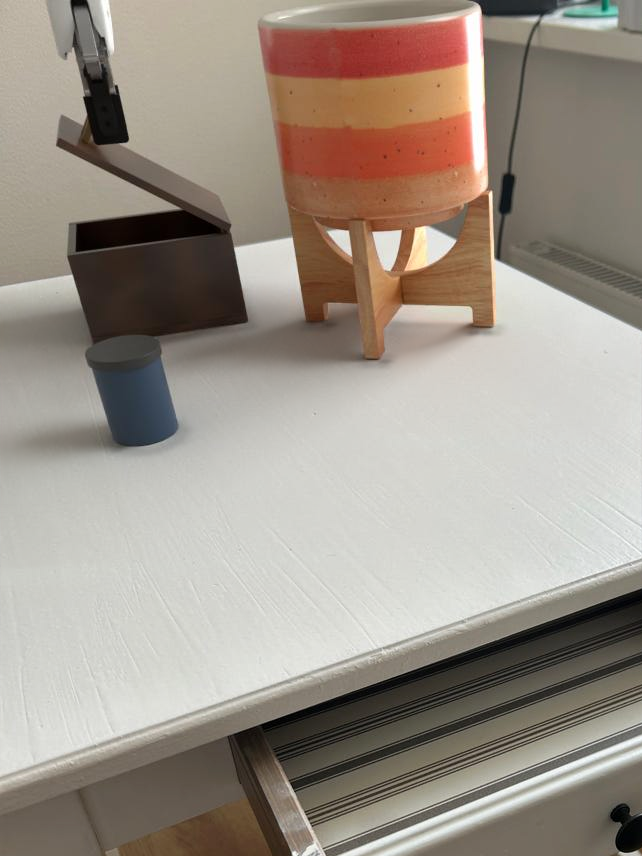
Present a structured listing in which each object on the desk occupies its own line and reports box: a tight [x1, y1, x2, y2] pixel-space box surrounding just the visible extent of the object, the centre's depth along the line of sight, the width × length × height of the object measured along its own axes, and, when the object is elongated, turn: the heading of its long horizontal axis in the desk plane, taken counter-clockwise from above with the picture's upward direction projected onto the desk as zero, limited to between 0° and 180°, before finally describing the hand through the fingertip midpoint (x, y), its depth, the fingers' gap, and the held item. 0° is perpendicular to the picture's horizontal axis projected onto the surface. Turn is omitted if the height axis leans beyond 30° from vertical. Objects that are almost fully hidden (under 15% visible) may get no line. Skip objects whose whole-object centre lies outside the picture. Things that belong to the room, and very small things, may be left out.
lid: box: [55, 90, 233, 232], centre depth 96 cm, size 16×13×6 cm
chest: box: [66, 208, 249, 345], centre depth 102 cm, size 16×13×9 cm
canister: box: [84, 335, 179, 447], centre depth 80 cm, size 6×6×7 cm
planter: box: [257, 0, 497, 360], centre depth 91 cm, size 20×20×27 cm
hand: (111, 135), depth 94 cm, fingers closed on lid, 5 cm apart
